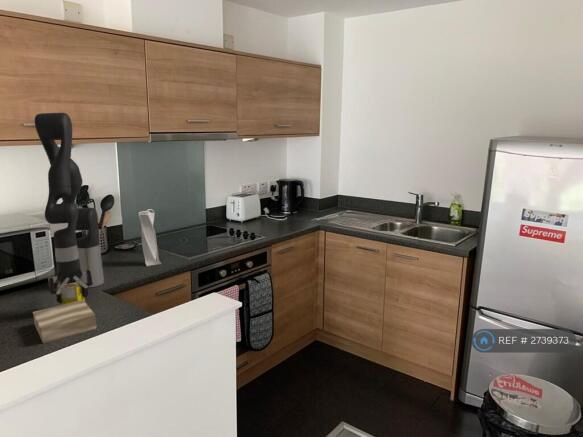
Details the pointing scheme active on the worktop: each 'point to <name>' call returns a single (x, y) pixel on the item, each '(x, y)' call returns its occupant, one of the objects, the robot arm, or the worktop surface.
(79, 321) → the oak support block
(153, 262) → the skyscraper
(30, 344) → the worktop surface
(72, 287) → the supplement box
